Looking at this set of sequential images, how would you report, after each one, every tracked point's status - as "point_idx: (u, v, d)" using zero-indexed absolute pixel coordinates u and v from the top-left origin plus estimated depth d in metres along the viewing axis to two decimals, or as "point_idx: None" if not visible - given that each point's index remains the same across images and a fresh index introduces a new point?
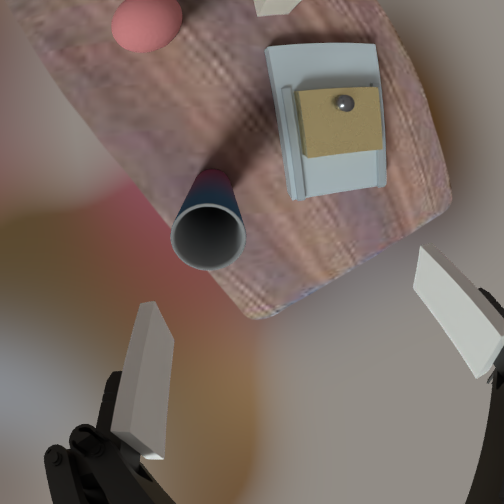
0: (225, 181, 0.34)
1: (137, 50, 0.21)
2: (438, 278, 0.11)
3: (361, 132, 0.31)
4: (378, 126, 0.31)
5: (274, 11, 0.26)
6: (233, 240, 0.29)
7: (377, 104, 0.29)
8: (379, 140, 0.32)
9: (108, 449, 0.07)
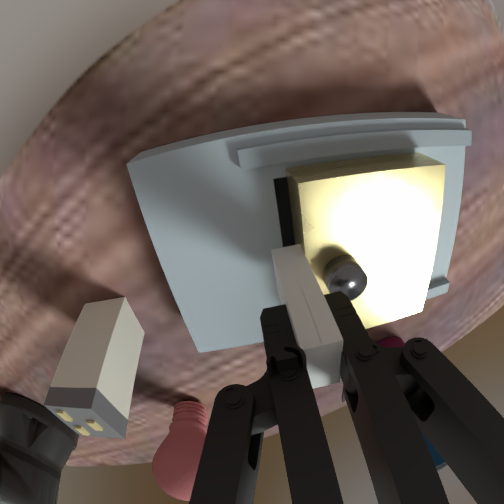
0: None
1: None
2: None
3: (407, 222, 0.13)
4: (400, 177, 0.12)
5: (130, 335, 0.20)
6: None
7: (347, 183, 0.12)
8: (428, 174, 0.12)
9: (302, 377, 0.08)
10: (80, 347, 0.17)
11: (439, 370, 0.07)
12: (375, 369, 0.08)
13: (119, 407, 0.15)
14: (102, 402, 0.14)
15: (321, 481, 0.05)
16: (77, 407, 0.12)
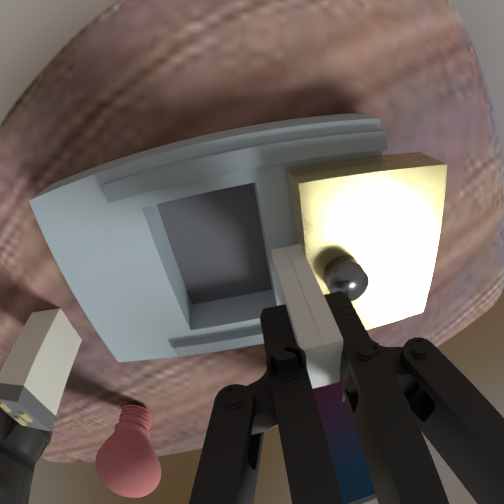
0: (318, 403, 0.23)
1: (159, 479, 0.22)
2: None
3: (408, 223, 0.13)
4: (402, 177, 0.12)
5: (64, 342, 0.20)
6: None
7: (348, 183, 0.12)
8: (429, 174, 0.12)
9: (302, 377, 0.08)
10: (20, 351, 0.17)
11: (439, 370, 0.07)
12: (375, 369, 0.08)
13: (47, 404, 0.15)
14: (29, 398, 0.14)
15: (321, 481, 0.05)
16: (9, 399, 0.12)
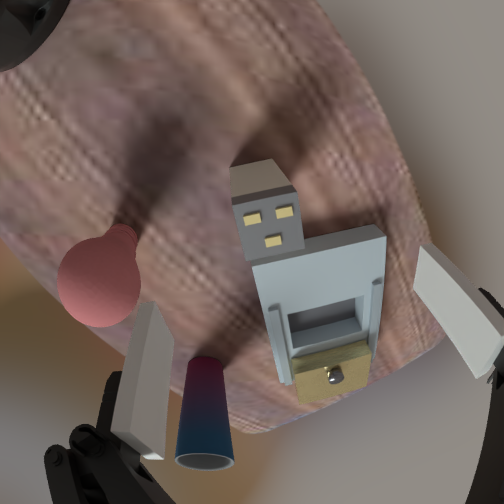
0: (216, 385, 0.34)
1: None
2: (438, 278, 0.11)
3: (348, 383, 0.36)
4: (365, 376, 0.35)
5: None
6: None
7: (367, 364, 0.34)
8: (364, 382, 0.36)
9: (108, 449, 0.07)
10: None
11: None
12: None
13: None
14: None
15: None
16: (302, 233, 0.19)
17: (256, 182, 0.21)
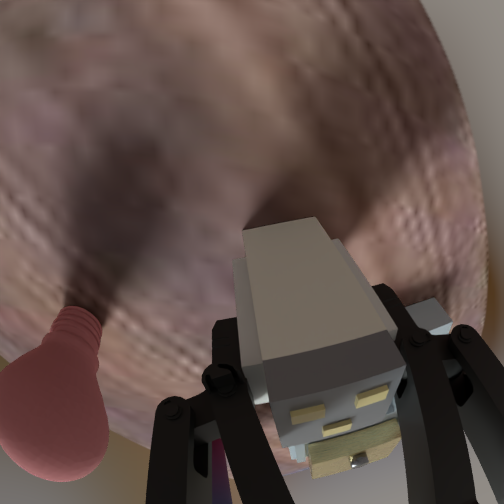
0: (217, 472, 0.24)
1: None
2: None
3: (369, 459, 0.26)
4: (389, 451, 0.26)
5: None
6: None
7: (395, 443, 0.24)
8: (386, 455, 0.26)
9: (241, 392, 0.08)
10: None
11: (481, 356, 0.07)
12: (426, 356, 0.08)
13: None
14: None
15: (272, 493, 0.05)
16: (387, 407, 0.09)
17: (307, 302, 0.10)
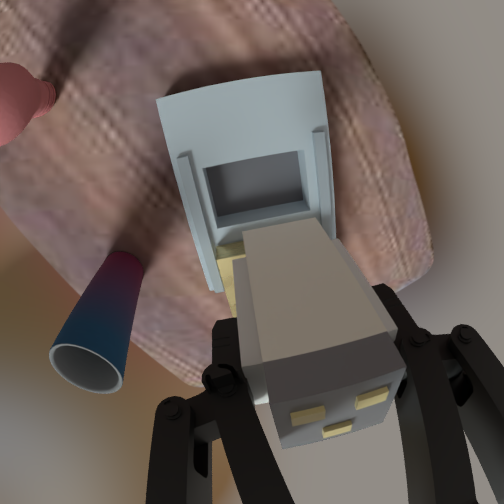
0: (122, 278, 0.27)
1: None
2: None
3: None
4: None
5: None
6: None
7: None
8: None
9: (241, 391, 0.08)
10: None
11: (480, 356, 0.07)
12: (426, 356, 0.08)
13: None
14: None
15: (272, 493, 0.05)
16: (387, 409, 0.09)
17: (307, 303, 0.10)
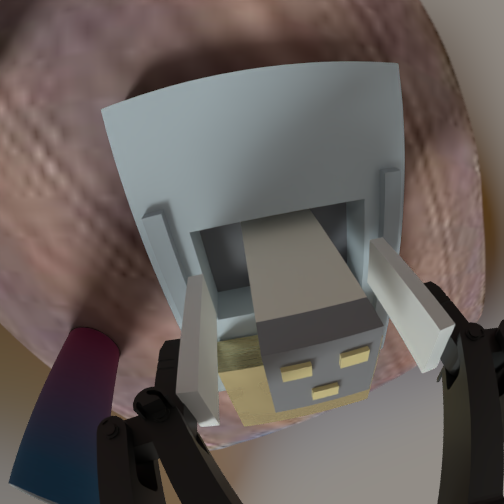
0: (87, 378, 0.17)
1: None
2: (385, 271, 0.13)
3: None
4: None
5: None
6: None
7: None
8: (363, 393, 0.19)
9: (173, 415, 0.08)
10: None
11: None
12: (479, 350, 0.07)
13: None
14: None
15: None
16: (372, 374, 0.10)
17: (296, 275, 0.12)
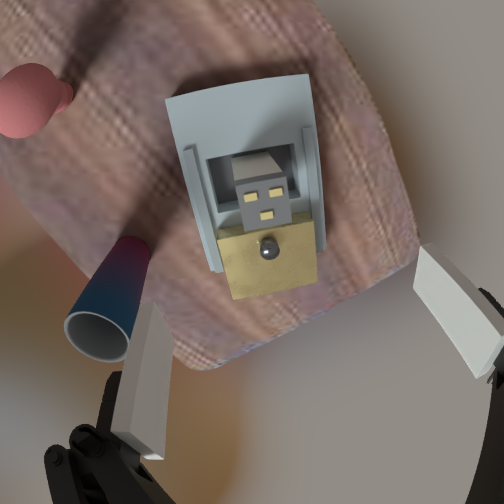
0: (132, 258, 0.31)
1: None
2: (438, 278, 0.11)
3: (291, 271, 0.32)
4: (312, 262, 0.32)
5: None
6: None
7: (311, 240, 0.31)
8: (313, 275, 0.33)
9: (108, 449, 0.07)
10: None
11: None
12: None
13: None
14: None
15: None
16: (290, 210, 0.24)
17: (254, 169, 0.25)
